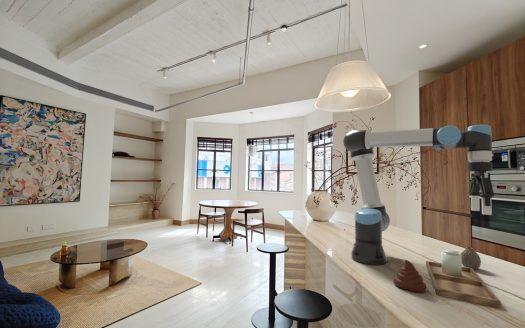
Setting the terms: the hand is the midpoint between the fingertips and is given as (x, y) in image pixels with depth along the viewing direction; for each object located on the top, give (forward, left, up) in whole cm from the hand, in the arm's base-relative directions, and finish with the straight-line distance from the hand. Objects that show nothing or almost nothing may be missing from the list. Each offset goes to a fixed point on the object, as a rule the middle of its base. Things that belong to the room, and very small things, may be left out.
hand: (480, 212), depth 99 cm
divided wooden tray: (-12, -17, -25) cm, 32 cm away
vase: (-3, +6, -25) cm, 26 cm away
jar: (-12, -9, -25) cm, 28 cm away
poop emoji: (-27, -31, -25) cm, 48 cm away
